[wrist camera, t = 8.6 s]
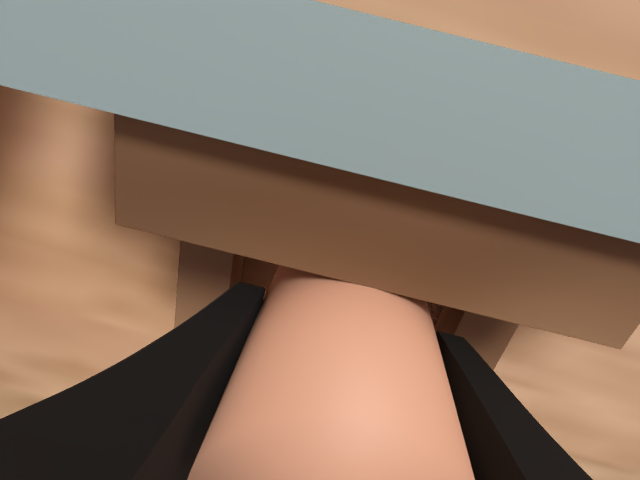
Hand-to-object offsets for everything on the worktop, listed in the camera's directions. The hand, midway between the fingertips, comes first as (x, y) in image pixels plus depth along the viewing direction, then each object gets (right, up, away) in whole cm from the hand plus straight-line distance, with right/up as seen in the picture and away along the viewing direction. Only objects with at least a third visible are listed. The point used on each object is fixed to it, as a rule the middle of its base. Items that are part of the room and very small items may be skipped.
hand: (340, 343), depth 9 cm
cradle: (0, +2, +3) cm, 3 cm away
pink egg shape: (0, +1, +2) cm, 2 cm away
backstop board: (+2, +6, +1) cm, 6 cm away
